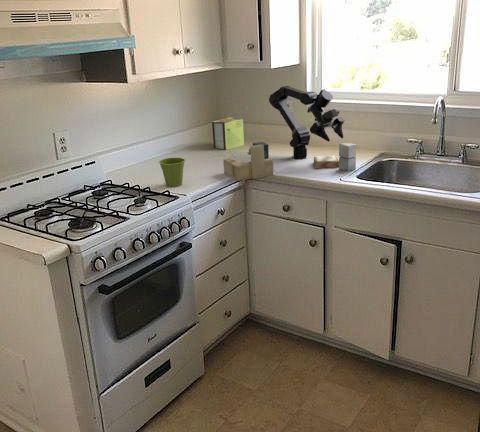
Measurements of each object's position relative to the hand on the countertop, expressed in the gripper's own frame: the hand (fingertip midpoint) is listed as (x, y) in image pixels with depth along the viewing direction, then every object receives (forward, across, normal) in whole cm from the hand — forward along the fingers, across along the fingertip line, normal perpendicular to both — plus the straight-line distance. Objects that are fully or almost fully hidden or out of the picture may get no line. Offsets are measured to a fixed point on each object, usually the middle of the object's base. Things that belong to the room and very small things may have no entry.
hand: (336, 139), depth 257 cm
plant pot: (-12, -73, +30) cm, 80 cm away
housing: (+15, 0, +4) cm, 15 cm away
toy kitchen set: (-4, -38, +23) cm, 45 cm away
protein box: (-44, -10, +63) cm, 77 cm away
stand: (+6, -1, +13) cm, 14 cm away
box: (-12, -22, +31) cm, 40 cm away
